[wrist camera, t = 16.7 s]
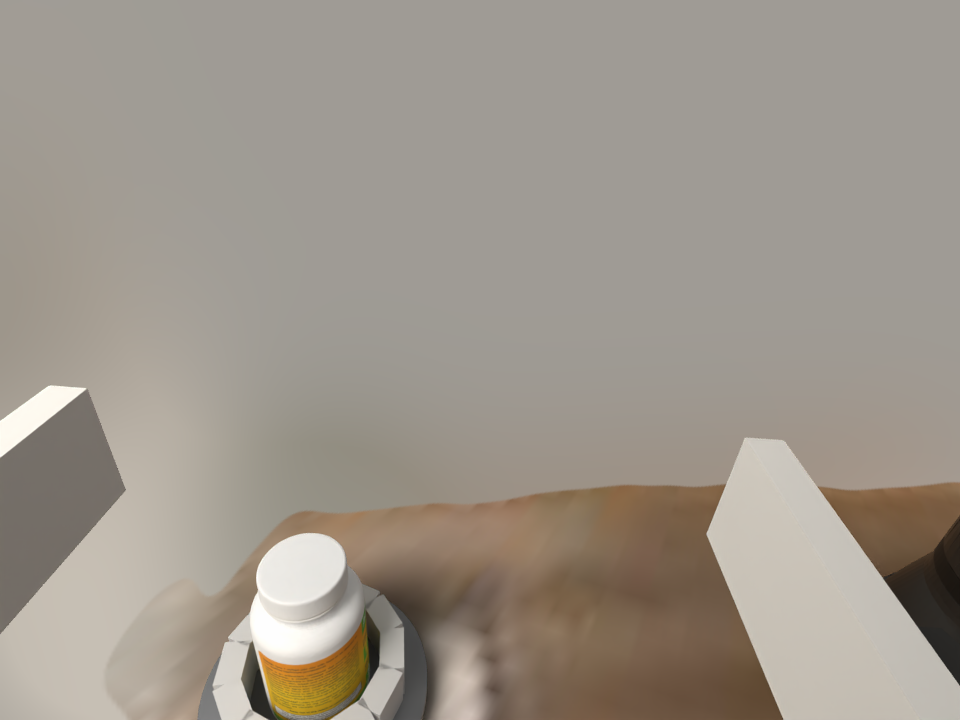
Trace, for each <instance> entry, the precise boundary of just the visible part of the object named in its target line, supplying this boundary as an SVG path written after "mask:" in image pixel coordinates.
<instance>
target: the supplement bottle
mask: <svg viewBox="0 0 960 720" xmlns="http://www.w3.org/2000/svg"><path fill="white" fill-rule="evenodd" d="M256 581H257V587H258V593H257V594H256V596H255V598H254V601H253V603H252V607H251V611H250V629H251V635H252V639H253V643H254V647H255V651H256V655H257V659H258V663H259V667H260V671H261V675H262V679H263V683H264V687H265V691H266V695H267V698H268V702H269V705H270V708H271V710H272V713H273V715H274V716H275V718H276V719H277V720H330V719H332V718H333V717H335V716H336V715H338V714H339V713H341V712H342V711H344V710H345V709H347V708H348V707H350V706H351V705H353V704H354V703H356V702H357V701H359V700H360V698H361V696H362V695H363V693H364V691H365V690H366V688H367V686H368V683H369V677H370V662H369V650H368V638H367V625H366V611H365V597H364V590H363V587H362V584H361V581H360V579H359V577H358V576H357V574H356V573H355V572H354V571H353V570H352V569H351V568H350V567H349V566H348V565H347V559H346V554H345V552H344V550H343V548H342V546H341V545H340V544H339V543H338V542H337V541H336V540H334V539H333V538H331V537H329V536H326V535H323V534H317V533H305V534H299V535H295V536H292V537H289V538H287V539H285V540H283V541H281V542H279V543H278V544H276V545H275V546H274V547H273V548H271V549H270V550H269V551H268V552H267V554H266V555H265V556H264V557H263V559H262V560H261V562H260V564H259V567H258V570H257V575H256Z"/></svg>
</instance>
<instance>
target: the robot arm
mask: <svg viewBox="0 0 960 720" xmlns="http://www.w3.org/2000/svg"><path fill="white" fill-rule="evenodd" d="M125 490H126V489H125V487H124V484H123V482H122V479H121V476H120V473H119V471H118V468H117V465H116V463H115V460H114V458H113V455H112V452H111V450H110V447H109V445H108V442H107V439H106V437H105V434H104V431H103V429H102V426H101V423H100V421H99V418H98V416H97V413H96V410H95V408H94V405H93V402H92V400H91V397H90V395H89V392H88V389H87V388H74V387H62V386H48V387H47V388H45V389H44V390H43V391H41V392H40V393H38V394H37V395H35V396H34V397H33V398H31V399H30V400H29V401H27V402H26V403H24V404H23V405H22V406H20V407H19V408H18V409H16V410H15V411H14V412H12V413H11V414H9V415H8V416H7V417H5V418H4V419H3V420H1V421H0V634H1V632H2V631H3V630H4V629H5V628H6V627H7V626H8V625H9V623H10V622H11V621H12V620H13V619H14V618H15V617H16V615H17V614H18V613H19V612H20V611H21V610H22V608H23V607H24V606H25V605H26V604H27V603H28V602H29V600H30V599H31V598H32V597H33V596H34V595H35V593H36V592H37V591H38V590H39V589H40V588H41V587H42V585H43V584H44V583H45V582H46V581H47V580H48V579H49V577H50V576H51V575H52V574H53V573H54V572H55V571H56V570H57V568H58V567H59V566H60V565H61V564H62V563H63V562H64V560H65V559H66V558H67V557H68V556H69V555H70V553H71V552H72V551H73V550H74V549H75V548H76V547H77V545H78V544H79V543H80V542H81V541H82V540H83V538H84V537H85V536H86V535H87V534H88V533H89V532H90V531H91V529H92V528H93V527H94V526H95V525H96V524H97V522H98V521H99V520H100V519H101V518H102V517H103V516H104V515H105V513H106V512H107V511H108V510H109V509H110V508H111V506H112V505H113V504H114V503H115V502H116V501H117V500H118V498H119V497H120V496H121V495H122V494H123V493H124V491H125ZM707 537H708V539H709V541H710V544H711V546H712V549H713V551H714V553H715V556H716V558H717V561H718V563H719V565H720V568H721V570H722V573H723V575H724V578H725V580H726V582H727V585H728V587H729V590H730V592H731V594H732V597H733V599H734V602H735V604H736V606H737V609H738V611H739V614H740V616H741V618H742V621H743V623H744V626H745V628H746V631H747V633H748V635H749V638H750V640H751V643H752V645H753V647H754V650H755V652H756V655H757V657H758V659H759V662H760V664H761V667H762V669H763V671H764V674H765V676H766V679H767V681H768V683H769V686H770V688H771V691H772V693H773V696H774V698H775V700H776V703H777V705H778V708H779V710H780V712H781V715H782V717H783V720H960V516H959V517H958V519H957V520H956V521H955V523H954V524H953V525H952V526H951V528H950V529H949V530H948V532H947V533H946V535H945V536H944V537H943V539H942V540H941V541H940V543H939V544H938V546H937V547H936V548H935V549H934V551H933V552H931V553H929V554H927V555H925V556H924V557H922V558H920V559H918V560H917V561H915V562H913V563H911V564H909V565H908V566H906V567H904V568H903V569H901V570H899V571H898V572H895V573H893V574H890V575H888V576H886V577H883V578H882V577H881V575H880V574H879V572H878V571H877V570H876V568H875V567H874V565H873V564H872V563H871V561H870V560H869V558H868V557H867V556H866V554H865V553H864V552H863V550H862V549H861V547H860V546H859V545H858V543H857V542H856V540H855V539H854V538H853V536H852V535H851V533H850V532H849V531H848V529H847V528H846V526H845V525H844V524H843V522H842V521H841V519H840V518H839V517H838V515H837V514H836V512H835V511H834V510H833V508H832V507H831V505H830V504H829V503H828V501H827V500H826V498H825V497H824V496H823V494H822V493H821V491H820V490H819V489H818V487H817V486H816V484H815V483H814V482H813V480H812V479H811V477H810V476H809V475H808V473H807V472H806V471H805V469H804V468H803V466H802V465H801V464H800V462H799V461H798V459H797V458H796V457H795V455H794V454H793V452H792V451H791V450H790V448H789V447H788V445H787V444H786V443H785V441H784V440H771V439H759V438H745V439H744V442H743V444H742V447H741V449H740V452H739V454H738V457H737V459H736V461H735V464H734V467H733V469H732V472H731V474H730V477H729V479H728V482H727V484H726V487H725V489H724V492H723V494H722V497H721V499H720V502H719V504H718V507H717V509H716V512H715V514H714V517H713V519H712V522H711V524H710V527H709V529H708V532H707Z"/></svg>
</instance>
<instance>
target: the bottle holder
mask: <svg viewBox="0 0 960 720" xmlns="http://www.w3.org/2000/svg"><path fill="white" fill-rule="evenodd" d="M361 584H362V583H361ZM362 587H363V590H364V597H365V611H366V625H367V638H368V650H369V662H370V677H369V683H368V686H367V688H366V690H365V691H364V693H363V695H362V696H361V698H360V700H359V701H357V702H356V703H354V704H353V705H351V706H350V707H348V708H347V709H345V710H344V711H342V712H341V713H339V714H338V715H336V716H335V717H333V718H332V719H330V720H423V716H424V712H425V706H426V699H427V665H426V657H425V653H424V649H423V645H422V643H421V640H420V638H419V635H418V633H417V631H416V630H415V628H414V626H413V625H412V623H411V622H410V620H409V619H408V618H407V617H406V615H405V614H404V613H403V612H402V611H401V610H400V609H399V608H397V607H396V606H395V605H394V604H392V603H391V602H389V601H388V600H387V599H386V597H385V596H384V594H382V595H381V596H380V591H378V590H376V589H373V588H371V587H369V586H367V585H364V584H362ZM228 639H229V642H225V645H224V648H223V652H222V654H221V655H220V657H219V658H218V660H217V662H216V663H215V665H214V667H213V669H212V671H211V673H210V675H209V677H208V679H207V682H206V685H205V687H204V690H203V693H202V697H201V701H200V705H199V711H198V720H277V719H276V718H275V716H274V715H273V713H272V710H271V708H270V705H269V702H268V698H267V695H266V691H265V687H264V683H263V679H262V675H261V671H260V667H259V663H258V659H257V655H256V651H255V647H254V643H253V639H252V635H251V629H250V613H249V614H248V615H247V616H246V618H245V619H244V620H243V621H242V622H241V623H240V624H239V626H238V627H237V628H236V629H235V630H234V631H233V632H232V633H231V635H230V636H229V637H228Z"/></svg>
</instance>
